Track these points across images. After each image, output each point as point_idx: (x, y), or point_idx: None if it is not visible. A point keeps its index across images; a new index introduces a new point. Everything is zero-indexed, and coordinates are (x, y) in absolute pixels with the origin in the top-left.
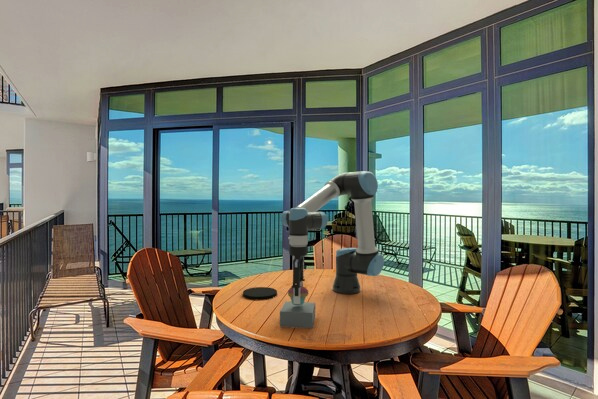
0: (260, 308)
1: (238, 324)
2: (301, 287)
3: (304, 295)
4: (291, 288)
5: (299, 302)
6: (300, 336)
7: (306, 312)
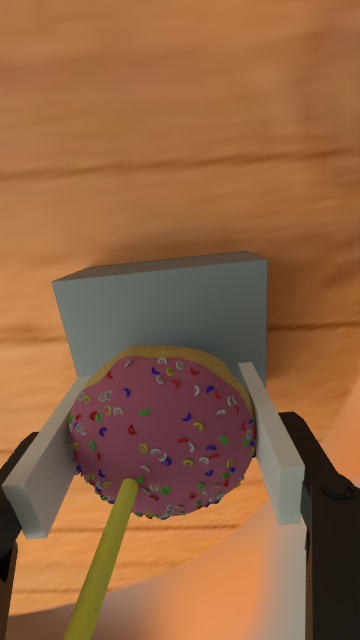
0: (77, 492)
1: (249, 506)
2: (169, 448)
3: (225, 368)
4: (187, 512)
5: (255, 372)
6: (344, 285)
7: (264, 299)
